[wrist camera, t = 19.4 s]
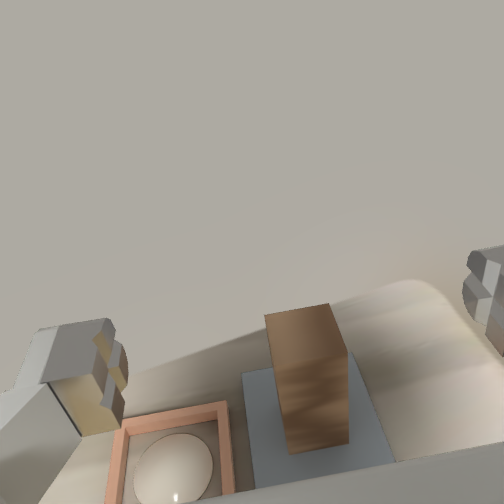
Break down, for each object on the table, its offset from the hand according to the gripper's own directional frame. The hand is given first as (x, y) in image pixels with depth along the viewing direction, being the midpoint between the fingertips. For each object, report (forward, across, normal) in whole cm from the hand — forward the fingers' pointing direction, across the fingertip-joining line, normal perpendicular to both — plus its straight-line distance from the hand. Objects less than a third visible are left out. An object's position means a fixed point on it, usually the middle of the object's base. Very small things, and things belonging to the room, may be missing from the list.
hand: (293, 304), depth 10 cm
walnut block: (+13, -2, +24) cm, 28 cm away
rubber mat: (+13, -2, +25) cm, 28 cm away
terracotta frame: (+11, +9, +25) cm, 29 cm away
